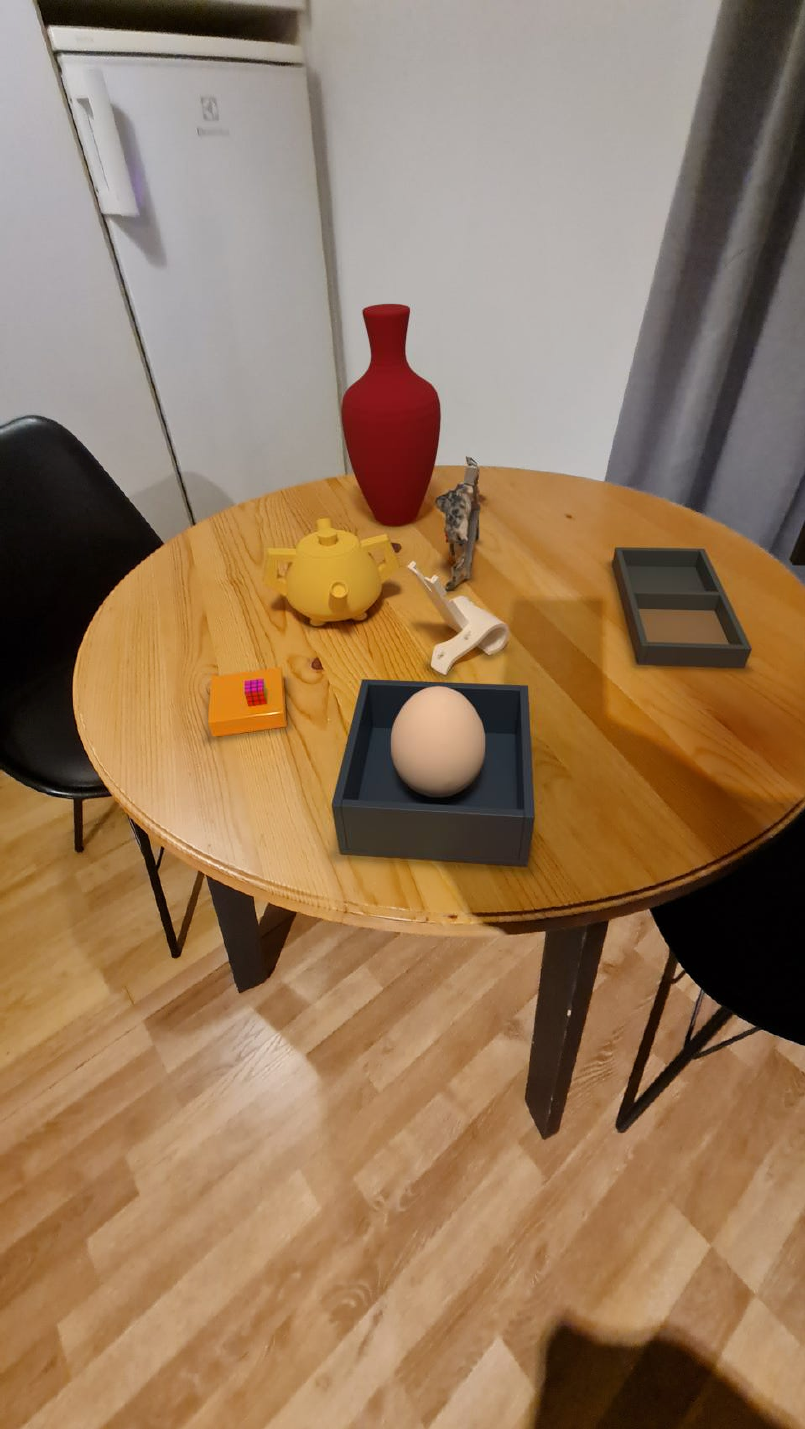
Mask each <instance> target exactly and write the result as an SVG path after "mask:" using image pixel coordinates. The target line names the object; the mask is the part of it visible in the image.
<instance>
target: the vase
mask: <svg viewBox="0 0 805 1429" xmlns="http://www.w3.org/2000/svg"><path fill="white" fill-rule="evenodd" d="M361 312H362V313H361V314H362V318H363V322H364V326H365V330H366V334H367V339H368V343H369V344H368V345H369V349H370V362H369V365H368V367H367V369H366V371H365V372H364V374H362V376H360V378H359V379H357V380H356V381H355V382H354V383H352V384H351V385H350V386H349V387H348V388H347V389H346V391H345V393H344V394H343V396H342V402H341V407H340V412H341V414H340V415H341V424H342V432H343V433H342V434H343V439H344V442H345V447H346V451H347V455H348V458H349V462H350V465H351V468H352V471H353V474H354V478H355V480H356V483H357V484H358V485H357V486H358V487H359V489H360V491H361V493H362V496H363V498H364V500H365V502H366V505H367V506H368V508H369V510H370V512H371V514H372V516H373V518H374V519H375V520H376V522H377V523H379V524H381V525H383V526H386V527H401V526H407V525H410V524H411V523H413V522H414V521H415V520H416V519H417V518H418V515H419V512H420V510H421V508H422V506H423V502H424V500H425V498H426V495H427V492H428V489H429V486H430V484H431V481H432V477H433V473H434V469H435V465H436V460H437V455H438V450H439V444H440V443H439V442H440V436H441V435H440V434H441V422H442V412H441V410H442V409H441V400H440V397H439V392H438V391H437V390H436V388H435V387H434V386H433V384H432V383H430V382H429V381H427V380H426V379H425V378H423V377H422V376H420V375H419V374H417V373H416V372H415V371H414V370H413V369H412V367H411V366H410V364H409V362H408V358H407V354H406V353H407V352H406V351H407V350H406V348H407V346H406V345H407V336H408V330H409V329H408V327H409V322H410V315H411V308H410V307H409V305H406V304H400V303H381V304H380V303H379V304H373V305H369V306H366V307H363V309H362V311H361Z"/></svg>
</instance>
